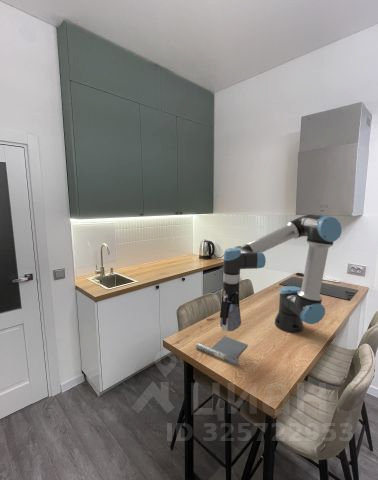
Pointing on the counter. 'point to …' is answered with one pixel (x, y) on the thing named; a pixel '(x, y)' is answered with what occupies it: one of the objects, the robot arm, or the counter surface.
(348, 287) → the counter surface
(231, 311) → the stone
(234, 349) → the mat
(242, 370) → the counter surface
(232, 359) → the rail
